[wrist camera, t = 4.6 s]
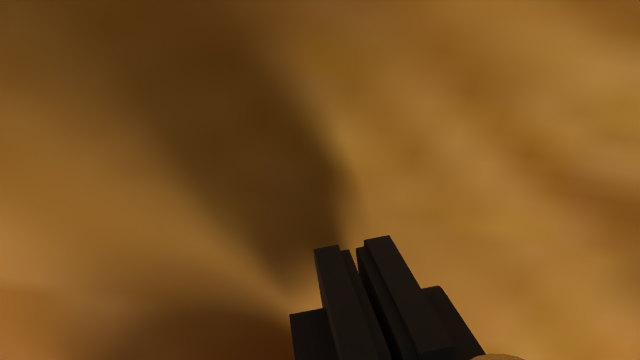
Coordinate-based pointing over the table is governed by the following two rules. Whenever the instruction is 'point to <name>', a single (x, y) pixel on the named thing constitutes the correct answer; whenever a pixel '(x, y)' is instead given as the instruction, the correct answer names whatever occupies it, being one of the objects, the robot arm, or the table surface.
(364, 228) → the table surface
